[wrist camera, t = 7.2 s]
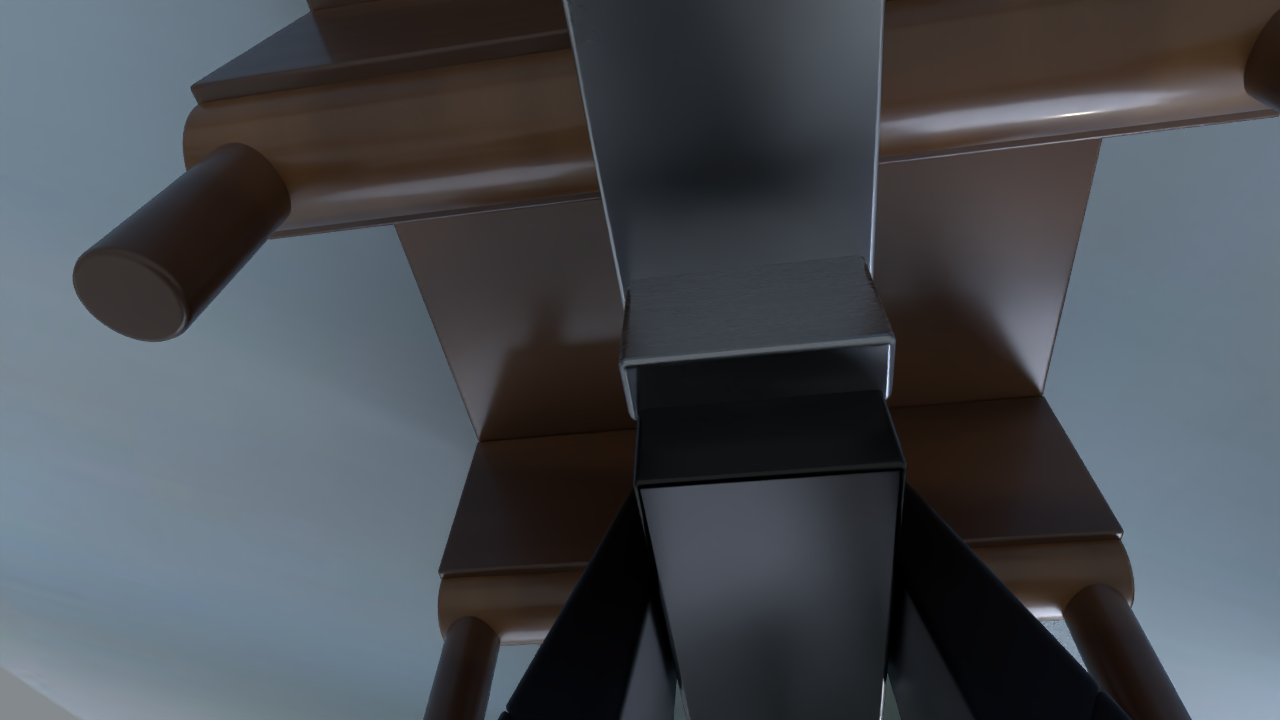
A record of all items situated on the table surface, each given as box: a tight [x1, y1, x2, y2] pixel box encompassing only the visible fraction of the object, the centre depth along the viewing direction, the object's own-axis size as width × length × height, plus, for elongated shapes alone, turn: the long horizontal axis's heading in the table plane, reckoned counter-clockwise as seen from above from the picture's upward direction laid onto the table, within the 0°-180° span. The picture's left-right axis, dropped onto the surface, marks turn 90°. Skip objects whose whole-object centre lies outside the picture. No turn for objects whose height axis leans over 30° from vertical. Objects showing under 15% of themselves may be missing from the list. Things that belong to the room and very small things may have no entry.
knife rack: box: [73, 0, 1280, 720], centre depth 12 cm, size 20×12×8 cm, turn 9°
